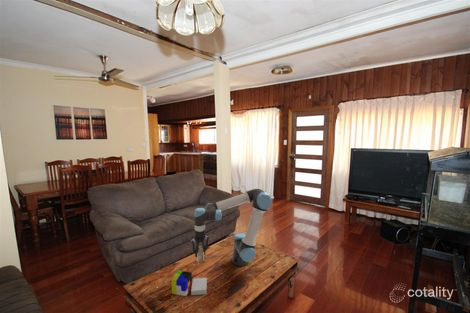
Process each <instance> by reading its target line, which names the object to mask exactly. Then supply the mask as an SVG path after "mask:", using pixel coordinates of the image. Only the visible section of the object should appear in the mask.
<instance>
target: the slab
mask: <svg viewBox="0 0 470 313" xmlns="http://www.w3.org/2000/svg"><path fill="white" fill-rule="evenodd" d="M207 280H208V277H195V278H192V286H191V288H190V292H191V293H190V294H191V296H198V295H207V293H208V292H207V290H208V289H207V286H208V281H207Z"/></svg>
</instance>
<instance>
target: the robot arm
mask: <svg viewBox="0 0 470 313" xmlns="http://www.w3.org/2000/svg"><path fill="white" fill-rule="evenodd" d="M247 203H248V204H250V203H252V206H251V207H252V212H251V215H250V217H249V218H250V219H249V222H248V225H247V229H246V231H245V233H244V232H239V233H236V234H234V235H233V253H232V256H231V263H232V264H233V265H235V266H238V267H244V266H247V265H248V264H249V263H250V262H251V261H252V260H254V259H255V258H256V255H257V253H256V246H257V243H256V239H257V236H258V233H259V230H260V226H261V222H262V220H263V218H264V213H266V212H267V210H268V209H269V208H270V207H271V205H272V204H273V201H272V197H271V195H270V194H269V193H268V192H266V191H264V190H262V189H260V188H253V189H250V190H246V191H244V193H242V194H239V195H235V196H232V197H229V198H226V199H223V200H219V201H217V202H214V203H212V202H207V204H206V205H205V208H204V207H198V208H195V209H194V213H193V214H194V215H193V216H194V217H193V218H194V219H193V220H194V237H193V238H192V239H190V242H191V247H192V254H194V256H195V259H196V262H197V263H200V262H199V258H198V247H199V245H200V243H201V246H202V247H203V261H205V256H206V252H207V251H208V248H209V239H210V237H209V235H206V222H213V221H216V222H217V221H220V220H222V216H223V215H222V211H225V210H229V209H231V208H234V207H238V206H241V205H243V204H247Z"/></svg>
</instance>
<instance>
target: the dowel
mask: <svg viewBox="0 0 470 313" xmlns="http://www.w3.org/2000/svg"><path fill="white" fill-rule="evenodd" d="M198 258H199V262H198V263H201V262H203V261H204V260H203V247H202V245H200V246H198Z"/></svg>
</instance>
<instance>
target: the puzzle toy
mask: <svg viewBox="0 0 470 313" xmlns="http://www.w3.org/2000/svg"><path fill="white" fill-rule="evenodd" d="M192 274H193V272H191V271H184V270H178V271H177V272H176V273H175V275H174V276H173V277H172V279H171V294H173V295H179V296H181V297H182V296H183V297H187V295H188V293H189V292H190V291H191V289H192V281H193V275H192Z"/></svg>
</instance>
